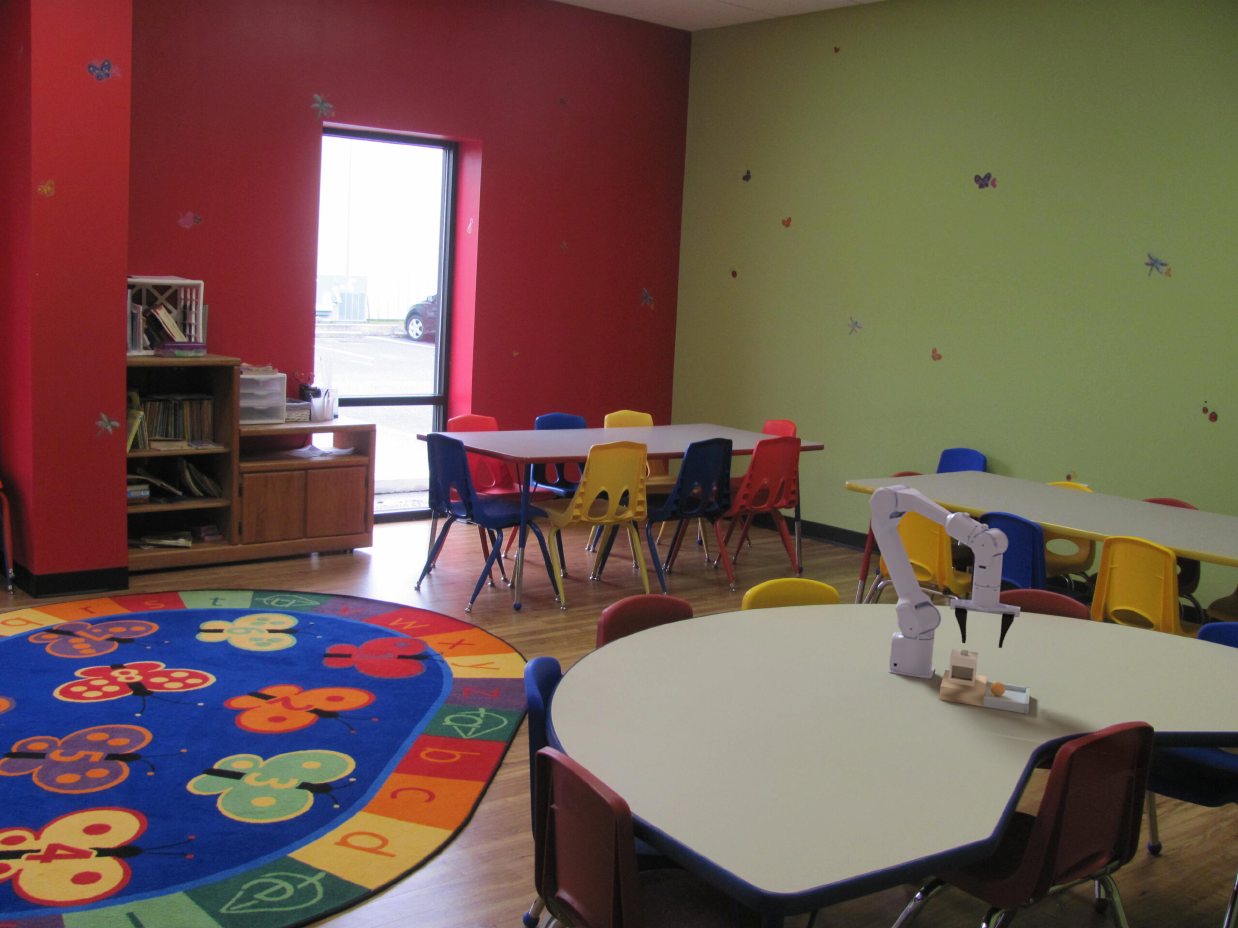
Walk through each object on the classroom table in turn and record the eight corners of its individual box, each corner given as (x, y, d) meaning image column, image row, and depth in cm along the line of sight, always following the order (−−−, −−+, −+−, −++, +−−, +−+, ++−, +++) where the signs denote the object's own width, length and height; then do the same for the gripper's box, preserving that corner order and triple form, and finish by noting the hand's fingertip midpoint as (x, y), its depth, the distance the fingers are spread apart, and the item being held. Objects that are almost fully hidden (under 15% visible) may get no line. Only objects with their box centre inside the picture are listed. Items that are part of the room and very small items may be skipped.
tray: (983, 706, 231) (983, 697, 230) (986, 689, 242) (986, 680, 242) (1028, 713, 227) (1029, 704, 227) (1029, 695, 239) (1030, 687, 238)
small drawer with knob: (948, 682, 236) (950, 652, 235) (950, 675, 241) (952, 645, 240) (974, 686, 234) (976, 656, 233) (975, 678, 239) (978, 649, 238)
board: (939, 699, 234) (940, 685, 234) (944, 682, 245) (945, 669, 245) (983, 706, 231) (984, 692, 230) (986, 689, 242) (987, 676, 241)
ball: (998, 700, 233) (987, 690, 234) (999, 696, 236) (987, 687, 237) (1008, 690, 233) (996, 680, 233) (1008, 686, 235) (996, 677, 236)
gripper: (950, 584, 237) (946, 644, 239) (1021, 592, 232) (1016, 653, 234) (953, 577, 244) (949, 636, 245) (1022, 585, 238) (1017, 645, 240)
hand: (982, 644), depth 240 cm, fingers open, 7 cm apart
